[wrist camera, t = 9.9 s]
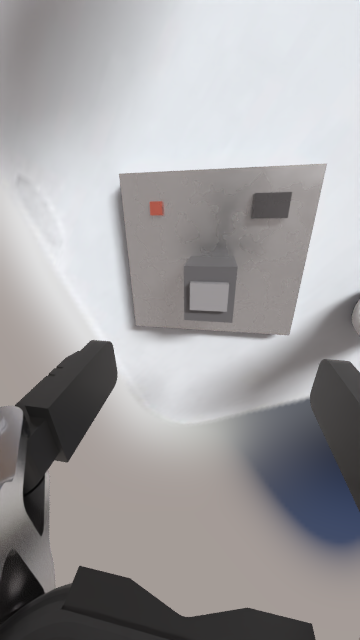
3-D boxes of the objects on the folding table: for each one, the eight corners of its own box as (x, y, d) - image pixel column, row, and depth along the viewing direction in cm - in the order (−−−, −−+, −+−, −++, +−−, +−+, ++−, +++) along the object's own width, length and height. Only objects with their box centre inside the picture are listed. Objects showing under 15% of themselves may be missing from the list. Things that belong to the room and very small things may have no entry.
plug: (192, 253, 25) (182, 267, 18) (233, 253, 24) (238, 268, 17) (192, 295, 27) (183, 322, 20) (229, 297, 26) (232, 325, 19)
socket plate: (127, 177, 23) (115, 172, 20) (317, 168, 20) (331, 161, 17) (141, 319, 29) (133, 328, 27) (284, 327, 27) (291, 338, 24)
